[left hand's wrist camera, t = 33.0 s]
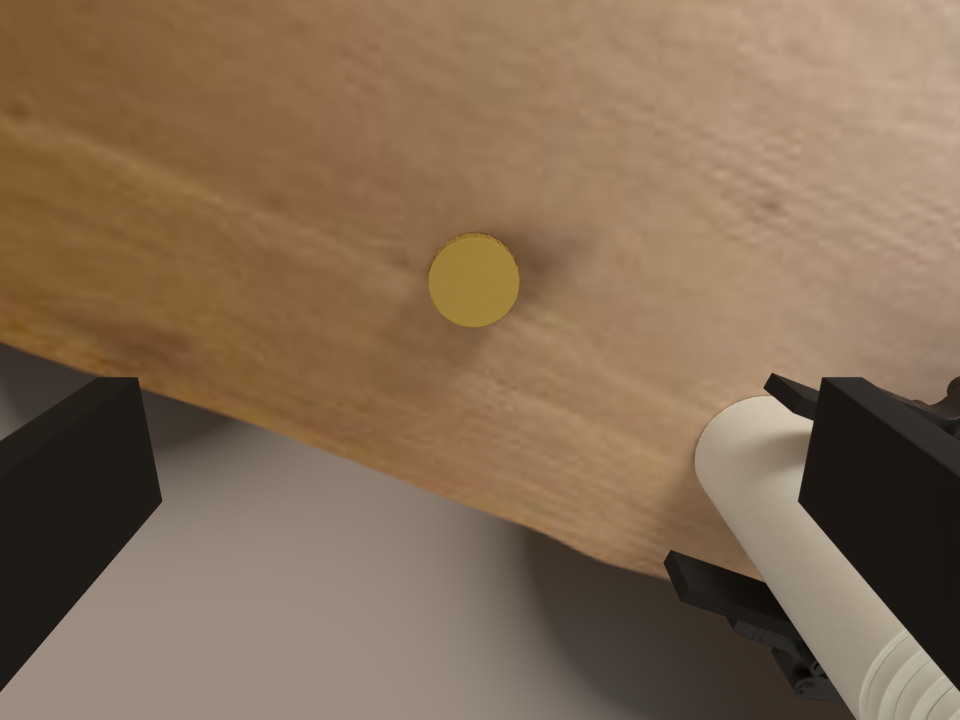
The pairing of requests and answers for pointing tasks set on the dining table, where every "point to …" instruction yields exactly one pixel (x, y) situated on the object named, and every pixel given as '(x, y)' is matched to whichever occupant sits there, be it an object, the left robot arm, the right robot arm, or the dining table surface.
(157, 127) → the dining table surface
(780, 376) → the right robot arm
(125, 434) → the left robot arm
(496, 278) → the cap
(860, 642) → the bottle
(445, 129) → the dining table surface
